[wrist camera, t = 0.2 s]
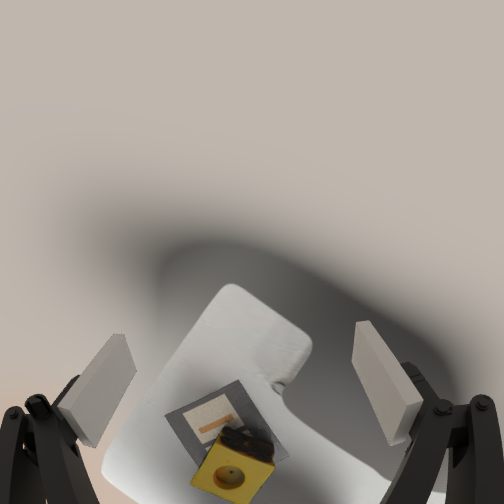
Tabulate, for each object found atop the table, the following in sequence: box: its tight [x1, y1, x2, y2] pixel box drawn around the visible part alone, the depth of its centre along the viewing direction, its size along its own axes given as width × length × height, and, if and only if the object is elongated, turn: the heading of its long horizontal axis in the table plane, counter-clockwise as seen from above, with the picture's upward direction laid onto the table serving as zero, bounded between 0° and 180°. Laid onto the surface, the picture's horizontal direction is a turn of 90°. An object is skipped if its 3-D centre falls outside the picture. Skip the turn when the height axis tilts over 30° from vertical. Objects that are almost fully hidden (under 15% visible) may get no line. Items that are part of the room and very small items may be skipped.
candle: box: [190, 426, 275, 504], centre depth 36 cm, size 10×10×10 cm
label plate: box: [165, 380, 289, 467], centre depth 42 cm, size 18×16×1 cm
